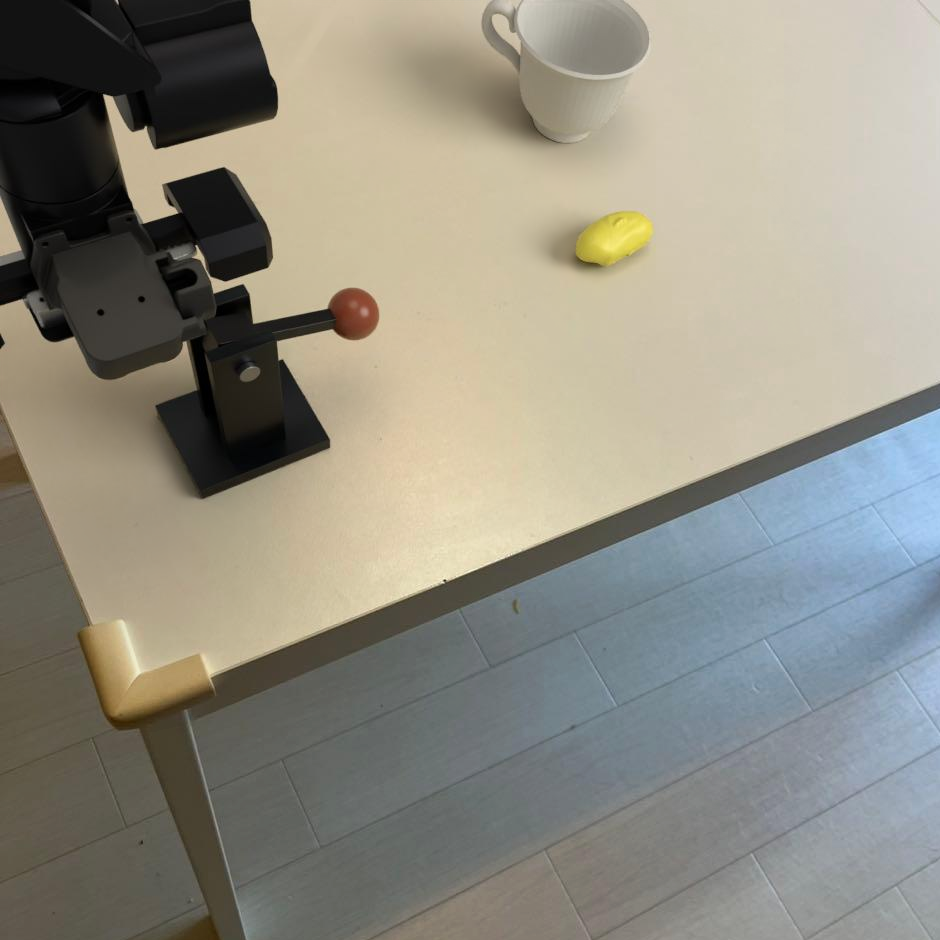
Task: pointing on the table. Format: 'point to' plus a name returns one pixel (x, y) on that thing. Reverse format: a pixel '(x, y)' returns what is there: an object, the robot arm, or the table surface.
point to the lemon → (614, 237)
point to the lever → (301, 321)
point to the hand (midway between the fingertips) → (118, 357)
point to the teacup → (571, 59)
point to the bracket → (240, 409)
